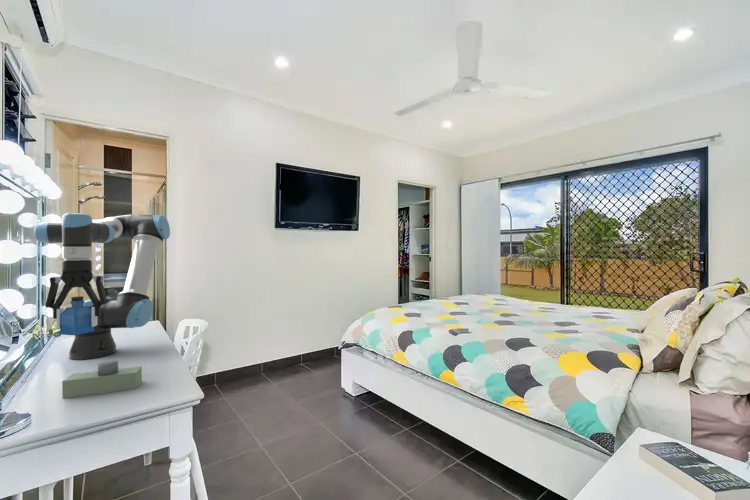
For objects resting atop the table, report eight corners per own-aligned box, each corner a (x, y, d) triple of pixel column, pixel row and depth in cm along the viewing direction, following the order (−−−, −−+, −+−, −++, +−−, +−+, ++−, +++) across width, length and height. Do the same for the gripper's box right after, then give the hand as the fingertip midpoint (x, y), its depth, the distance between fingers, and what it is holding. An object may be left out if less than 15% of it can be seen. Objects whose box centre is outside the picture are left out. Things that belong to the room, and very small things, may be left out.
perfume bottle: (75, 335, 111) (74, 298, 111) (60, 334, 112) (59, 298, 112) (94, 331, 117) (94, 295, 117) (79, 330, 118) (79, 295, 118)
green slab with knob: (84, 380, 113) (84, 356, 113) (148, 372, 119) (148, 350, 120) (62, 398, 99) (62, 370, 99) (136, 388, 106) (135, 362, 106)
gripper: (29, 260, 107) (29, 332, 107) (111, 259, 115) (111, 326, 115) (42, 259, 114) (43, 327, 114) (119, 258, 122) (119, 322, 122)
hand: (77, 326), depth 115 cm, fingers closed on perfume bottle, 8 cm apart
